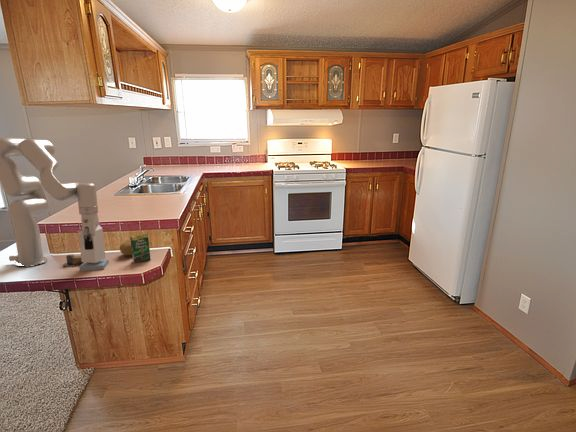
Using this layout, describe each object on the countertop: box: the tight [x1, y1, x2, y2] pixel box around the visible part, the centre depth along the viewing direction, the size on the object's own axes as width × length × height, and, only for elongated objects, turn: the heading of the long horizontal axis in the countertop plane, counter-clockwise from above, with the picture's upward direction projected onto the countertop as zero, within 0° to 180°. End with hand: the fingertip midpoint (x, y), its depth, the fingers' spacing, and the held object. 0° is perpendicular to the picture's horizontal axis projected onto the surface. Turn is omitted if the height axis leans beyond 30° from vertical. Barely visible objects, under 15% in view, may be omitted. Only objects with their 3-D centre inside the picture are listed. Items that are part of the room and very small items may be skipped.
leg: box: [65, 254, 84, 265], centre depth 164 cm, size 16×3×4 cm, turn 108°
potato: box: [119, 239, 132, 257], centre depth 178 cm, size 10×14×8 cm
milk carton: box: [77, 224, 106, 263], centre depth 157 cm, size 7×7×19 cm
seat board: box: [78, 258, 110, 272], centre depth 160 cm, size 10×9×2 cm
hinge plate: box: [62, 262, 81, 268], centre depth 163 cm, size 7×7×1 cm
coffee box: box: [130, 233, 151, 263], centre depth 167 cm, size 8×3×13 cm, turn 127°
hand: (92, 246), depth 158 cm, fingers closed on milk carton, 8 cm apart
